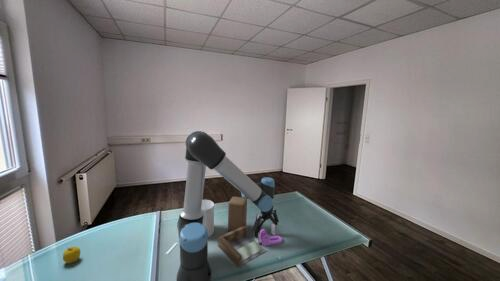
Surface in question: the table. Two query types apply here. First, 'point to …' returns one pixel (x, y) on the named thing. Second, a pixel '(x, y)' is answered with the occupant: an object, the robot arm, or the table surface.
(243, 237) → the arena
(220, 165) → the robot arm
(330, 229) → the table surface
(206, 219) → the container
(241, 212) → the wooden block
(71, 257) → the apple
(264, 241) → the bracket
